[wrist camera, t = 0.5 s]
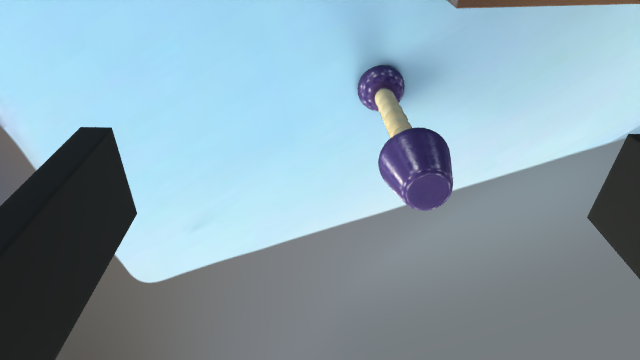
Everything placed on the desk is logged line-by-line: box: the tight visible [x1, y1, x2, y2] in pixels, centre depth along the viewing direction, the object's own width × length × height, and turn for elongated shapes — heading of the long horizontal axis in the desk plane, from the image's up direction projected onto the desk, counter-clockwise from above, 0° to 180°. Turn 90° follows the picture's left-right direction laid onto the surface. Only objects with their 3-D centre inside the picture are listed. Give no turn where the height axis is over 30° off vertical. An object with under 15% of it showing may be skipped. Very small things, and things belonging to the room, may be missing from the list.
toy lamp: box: [358, 66, 453, 210], centre depth 31 cm, size 5×5×17 cm
